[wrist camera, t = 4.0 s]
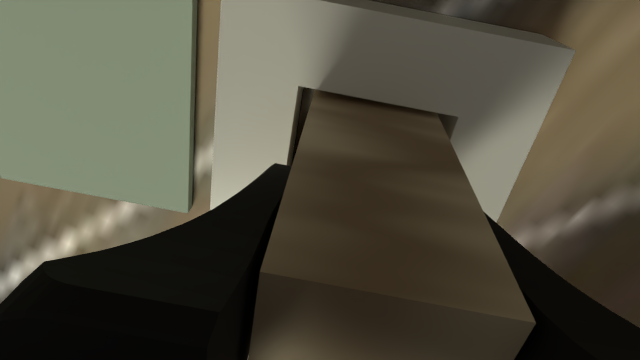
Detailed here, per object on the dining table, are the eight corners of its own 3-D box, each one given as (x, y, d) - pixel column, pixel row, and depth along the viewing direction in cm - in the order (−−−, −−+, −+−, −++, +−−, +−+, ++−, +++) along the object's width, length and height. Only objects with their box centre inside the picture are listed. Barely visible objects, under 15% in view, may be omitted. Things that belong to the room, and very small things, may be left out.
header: (541, 34, 14) (576, 50, 12) (446, 264, 19) (457, 305, 17) (243, -25, 14) (222, -20, 12) (225, 222, 19) (207, 259, 17)
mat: (197, -17, 14) (192, -16, 14) (191, 206, 18) (187, 213, 18) (-42, -64, 14) (-55, -64, 13) (9, 172, 18) (0, 178, 18)
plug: (435, 109, 14) (536, 323, 6) (403, 210, 16) (447, 469, 8) (315, 87, 14) (259, 271, 6) (298, 190, 16) (238, 432, 8)
